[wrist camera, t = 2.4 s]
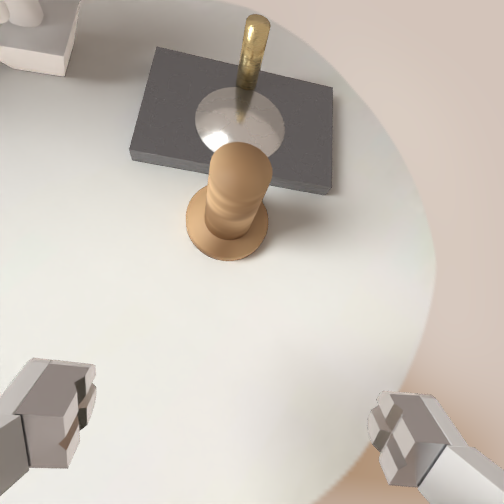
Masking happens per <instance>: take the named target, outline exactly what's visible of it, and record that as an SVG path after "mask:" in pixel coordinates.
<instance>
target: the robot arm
mask: <svg viewBox="0 0 504 504" xmlns="http://www.w3.org/2000/svg"><path fill="white" fill-rule="evenodd" d="M95 376H96V368H95V365H93V364H86V363H77V362H69V361H60V360H49V359H40V358H32V359H31V360H29V361H28V362H26V364H25V365H24V366H23V368H22V369H21V370H20V371H19V373H18V374H17V375H16V377H15V378H14V379H13V380H12V382H11V383H10V384H9V386H8V387H7V388H6V389H5V391H4V392H3V393H2V394H1V396H0V496H1V495H2V494H3V493H4V492H5V491H7V490H8V489H9V488H10V487H11V486H12V485H13V484H14V483H15V482H17V481H18V480H19V479H20V478H21V477H22V476H23V475H24V474H25V473H27V472H28V471H29V468H68V467H69V465H70V463H71V460H72V458H73V456H74V454H75V451H76V449H77V447H78V445H79V442H80V433H79V431H80V430H81V429H83V428H84V427H85V426H86V425H87V424H88V422H89V420H90V417H91V415H92V412H93V408H94V405H95V399H96V386H95V385H94V384H93V383H92V382H93V380H94V378H95ZM376 400H377V403H378V406H376V407H375V408H373V409H372V410H371V412H370V414H369V416H368V424H367V429H368V434H369V437H370V440H371V442H372V445H373V446H374V447H375V448H376V449H377V450H378V451H379V452H380V457H379V462H380V465H381V467H382V469H383V472H384V474H385V477H386V479H387V481H388V484H389V485H395V486H406V487H407V486H408V487H418V490H419V491H420V493H421V494H422V495H423V496H424V497H425V498H426V500H427V501H428V502H429V503H430V504H504V470H503V469H501V468H500V467H499V466H498V465H496V464H495V463H494V462H493V461H491V460H490V459H489V458H487V457H486V456H485V455H484V454H482V453H481V452H480V451H478V450H477V449H476V448H474V447H469V446H468V444H467V443H466V441H465V440H464V438H463V437H462V435H461V434H460V433H459V431H458V430H457V428H456V427H455V425H454V424H453V422H452V421H451V419H450V418H449V416H448V415H447V414H446V412H445V411H444V409H443V408H442V406H441V405H440V403H439V402H438V400H437V399H436V398H435V397H434V396H432V395H427V394H413V393H405V392H392V391H382V392H381V393H379V395H378V397H377V399H376Z"/></svg>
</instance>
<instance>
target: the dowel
mask: <svg viewBox="0 0 504 504" xmlns="http://www.w3.org/2000/svg"><path fill="white" fill-rule="evenodd" d="M269 30H270V22H269V21H268V19H267V18H265V17H264V16H261V15H258V14H253V15H250V16H248V18H247V20H246V25H245V31H244V37H243V43H242V49H241V55H240V61H239V67H238V73H237V79H236V84H237V86H238V87H240V88H241V89H244V90H254V89H255V87H256V84H257V80H258V76H259V72H260V67H261V63H262V59H263V55H264V51H265V47H266V43H267V39H268V34H269Z"/></svg>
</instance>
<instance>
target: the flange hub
mask: <svg viewBox="0 0 504 504" xmlns="http://www.w3.org/2000/svg"><path fill="white" fill-rule="evenodd" d="M271 179H272V166H271V163H270V161H269V159H268V157H267V156H266V155H265V154H264V153H263V151H261V150H260V149H259V148H257V147H255V146H253V145H251V144H248V143H244V142H232V143H228V144H225V145H223V146H221V147H220V148H218V149H217V150H216V151H215V153H214V154H213V156H212V158H211V161H210V168H209V177H208V185H207V186H205V187H203V188H202V189H200V190H199V191H198V192H197V193H196V194H195V195H194V196H193V197H192V199H191V201H190V202H189V205H188V208H187V212H186V227H187V232H188V235H189V237H190V239H191V241H192V242H193V244H194V245H195V246H196V247H197V248H198V249H199V250H200V251H201V252H202V253H204V254H205V255H207V256H209V257H211V258H214V259H217V260H222V261H234V260H239V259H242V258H245V257H247V256H249V255H250V254H252V253H253V252H254V251H255V250H256V249H257V248H258V247H259V246H260V244H261V243H262V241H263V239H264V238H265V235H266V233H267V230H268V214H267V210H266V208H265V206H264V204H263V202H262V200H263V197H264V195H265V193H266V191H267V188H268V186H269V184H270V182H271Z"/></svg>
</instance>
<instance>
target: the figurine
mask: <svg viewBox="0 0 504 504" xmlns="http://www.w3.org/2000/svg"><path fill="white" fill-rule="evenodd" d="M80 1H81V0H0V61H1V62H2V63H4V64H6V65H8V66H9V67H11V68H13V69H18V70H25V71H31V72H37V73H43V74H50V75H56V76H62V77H65V73H66V70H67V66H68V62H69V59H70V55H71V52H72V48H73V45H74V40H75V33H76V27H77V20H78V14H79V7H80Z"/></svg>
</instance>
